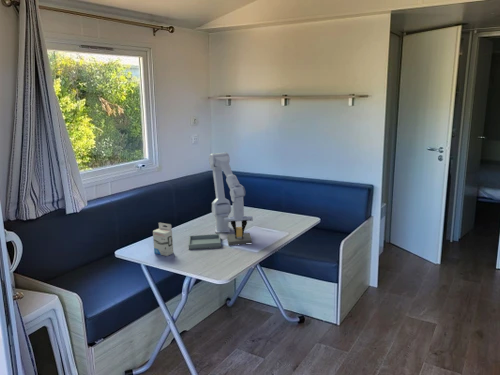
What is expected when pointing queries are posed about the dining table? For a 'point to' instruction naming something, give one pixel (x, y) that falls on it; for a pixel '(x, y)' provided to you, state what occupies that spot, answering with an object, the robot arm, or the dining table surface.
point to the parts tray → (204, 241)
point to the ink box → (163, 240)
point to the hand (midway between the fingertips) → (239, 234)
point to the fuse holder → (234, 241)
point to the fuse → (239, 232)
